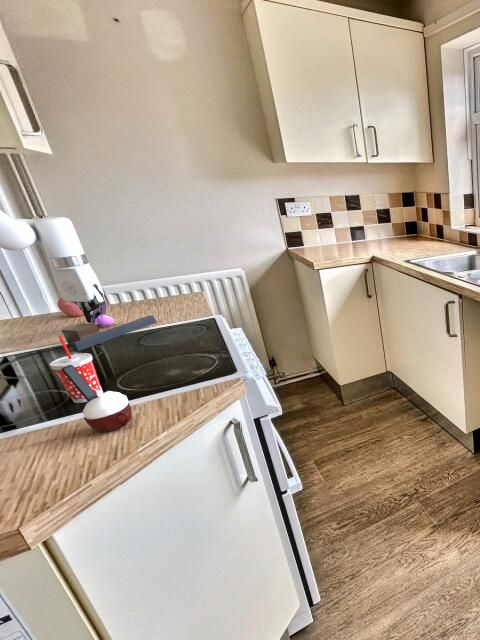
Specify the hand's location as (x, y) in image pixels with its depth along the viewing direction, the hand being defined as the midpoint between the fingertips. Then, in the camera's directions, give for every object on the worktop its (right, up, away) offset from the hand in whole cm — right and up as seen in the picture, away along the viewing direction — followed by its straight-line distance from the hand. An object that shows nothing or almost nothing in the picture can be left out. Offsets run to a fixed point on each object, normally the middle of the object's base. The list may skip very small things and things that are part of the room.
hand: (95, 321), depth 128 cm
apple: (-15, +2, +10) cm, 18 cm away
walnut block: (+10, -7, -13) cm, 17 cm away
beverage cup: (+39, -18, -40) cm, 59 cm away
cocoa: (+53, -22, -50) cm, 76 cm away
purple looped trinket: (+4, -2, 0) cm, 5 cm away
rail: (+14, -5, -8) cm, 17 cm away
